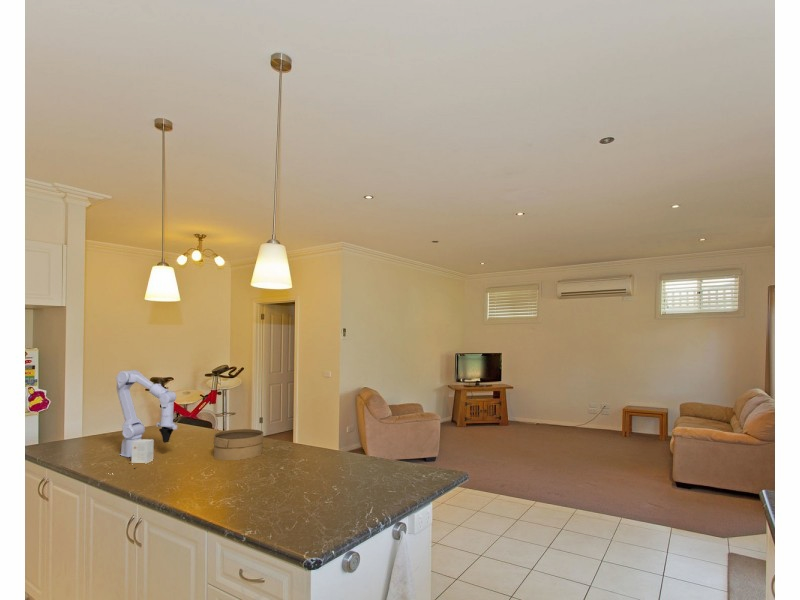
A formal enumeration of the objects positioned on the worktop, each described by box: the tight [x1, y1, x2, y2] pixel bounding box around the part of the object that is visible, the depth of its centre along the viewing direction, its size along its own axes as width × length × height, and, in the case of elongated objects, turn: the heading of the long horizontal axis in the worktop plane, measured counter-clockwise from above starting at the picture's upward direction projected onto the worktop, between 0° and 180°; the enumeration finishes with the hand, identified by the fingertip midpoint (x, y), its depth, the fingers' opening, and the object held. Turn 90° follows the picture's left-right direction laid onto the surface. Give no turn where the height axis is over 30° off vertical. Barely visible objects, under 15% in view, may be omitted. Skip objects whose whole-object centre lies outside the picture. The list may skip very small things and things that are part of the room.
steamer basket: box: [213, 428, 264, 461], centre depth 248 cm, size 25×25×11 cm
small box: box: [130, 438, 155, 464], centre depth 233 cm, size 8×6×10 cm
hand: (166, 442), depth 243 cm, fingers closed
